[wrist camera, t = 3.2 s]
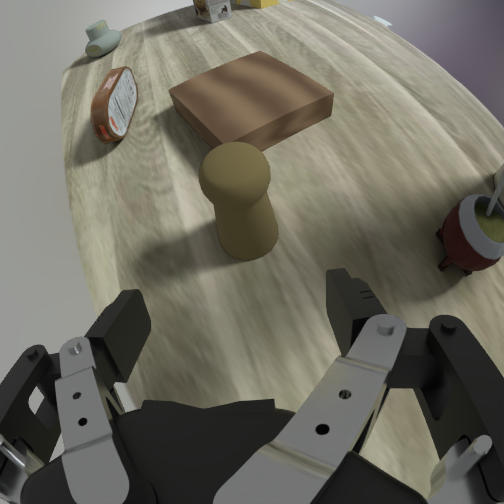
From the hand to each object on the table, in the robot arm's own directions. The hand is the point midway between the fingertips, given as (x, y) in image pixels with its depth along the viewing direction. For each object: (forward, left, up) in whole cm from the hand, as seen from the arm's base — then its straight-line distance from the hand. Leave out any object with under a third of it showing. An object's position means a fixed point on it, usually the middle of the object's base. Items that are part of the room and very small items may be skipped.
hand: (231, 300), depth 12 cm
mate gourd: (-22, +6, -14) cm, 27 cm away
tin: (-1, -38, -14) cm, 41 cm away
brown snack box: (-34, -68, -14) cm, 77 cm away
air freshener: (-6, -81, -14) cm, 82 cm away
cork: (-5, -9, -14) cm, 18 cm away
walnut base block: (-16, -25, -14) cm, 33 cm away
